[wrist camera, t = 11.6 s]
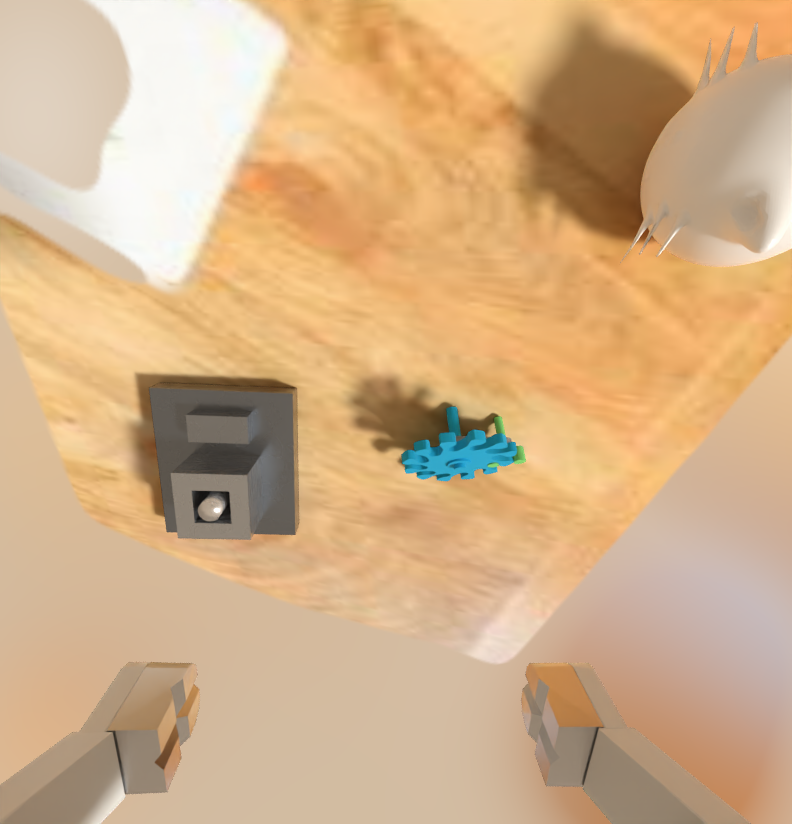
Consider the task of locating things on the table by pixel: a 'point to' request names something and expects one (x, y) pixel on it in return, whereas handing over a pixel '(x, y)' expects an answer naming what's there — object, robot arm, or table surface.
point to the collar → (218, 475)
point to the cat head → (725, 166)
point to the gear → (462, 452)
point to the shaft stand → (231, 443)
